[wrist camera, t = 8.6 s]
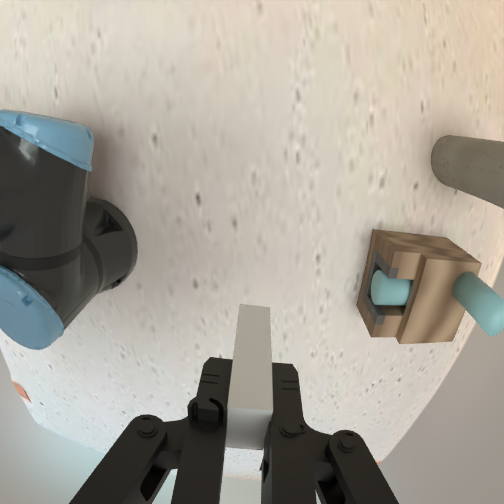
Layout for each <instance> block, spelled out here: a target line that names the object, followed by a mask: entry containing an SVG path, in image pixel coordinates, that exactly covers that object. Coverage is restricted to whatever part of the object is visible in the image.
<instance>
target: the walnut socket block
mask: <svg viewBox="0 0 504 504" xmlns="http://www.w3.org/2000/svg"><path fill="white" fill-rule="evenodd" d="M481 264H482V263H480V262H479V261H478V260H476V259H475V258H474V257H472V256H471V255H470V254H468V253H467V252H466V251H464V250H463V249H461V248H460V247H459V246H457V245H456V244H454V243H453V242H452V241H450V240H449V239H447V238H443V237H435V236H426V235H418V234H410V233H401V232H392V231H383V230H373V232H372V238H371V243H370V248H369V253H368V258H367V262H366V267H365V272H364V276H363V281H362V285H361V289H360V293H359V297H358V301H357V308H358V310H359V312H360V314H361V316H362V318H363V320H364V323H365V325H366V327H367V329H368V331H369V334H370V336H371V337H396V339H397V341H398V342H399V344H415V343H435V342H450V341H453V339H454V337H455V334H456V332H457V330H458V327H459V325H460V323H461V320H462V318H463V315H464V313H465V310H466V309H465V308H464V307H463V306H462V305H461V304H460V303H459V302H458V301H457V300H456V299H455V298H454V296H453V292H452V290H453V285H454V283H455V281H456V279H457V278H458V277H459V276H460V275H461V274H463V273H464V272H468V271H470V272H473V273H474V274H475V275H476V276H477V277H478V273H479V270H480V267H481ZM377 270H382V271H383V272H384V273H385V275H386V276H387V277H388V278H393V279H411V280H414V282H413V286H412V289H411V292H410V296H409V299H408V302H407V305H406V306H404V305H375V304H374V303H373V301H372V297H371V283H372V278H373V275H374V273H375V272H376V271H377Z"/></svg>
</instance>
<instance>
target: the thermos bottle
mask: <svg viewBox="0 0 504 504" xmlns="http://www.w3.org/2000/svg"><path fill="white" fill-rule="evenodd" d="M431 163H432V168H433V172H434V174H435V176H436V177H437V178H438V180H439V181H440V182H441V183H443V184H445V185H447V186H450V187H452V188H455V189H458V190H461V191H463V192H466V193H468V194H471V195H473V196H476V197H478V198H481V199H483V200H485V201H488V202H490V203H492V204H494V205H497V206H499V207H501V208H503V209H504V142H500V141H493V140H485V139H477V138H469V137H460V136H445V137H442V138H441V139H440V140H438V142H437V143H436V144H435V146H434V148H433V151H432V156H431Z"/></svg>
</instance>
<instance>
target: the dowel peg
mask: <svg viewBox="0 0 504 504" xmlns="http://www.w3.org/2000/svg"><path fill="white" fill-rule="evenodd" d="M413 282H414V280H411V279H393V278H388V277H387V276H386V275H385V273H384V272H383V271H382V270H377V271H376V272H375V273H374V275H373V278H372V283H371V297H372V301H373V303H374V304H375V305H404V306H406V305H407V302H408V299H409V296H410V292H411V289H412V286H413Z"/></svg>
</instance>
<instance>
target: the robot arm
mask: <svg viewBox="0 0 504 504" xmlns="http://www.w3.org/2000/svg"><path fill="white" fill-rule="evenodd" d="M93 147H94V136H93V133H92V131H91V130H90V129H89V128H88V127H87V126H85V125H82V124H79V123H75V122H71V121H67V120H63V119H58V118H54V117H49V116H44V115H39V114H33V113H27V112H21V111H12V110H1V111H0V328H1V330H2V331H3V332H4V333H5V334H6V335H8V336H9V337H10V338H11V339H13V340H14V341H15V342H17V343H18V344H20V345H22V346H24V347H26V348H29V349H34V350H41V349H44V348H47V347H48V346H50V345H51V344H52V343H53V342H54V341H55V340H56V339H57V338H58V337H60V336H62V335H63V333H64V330H65V329H66V328H67V327H68V325H69V324H70V323H71V322H72V321H73V320H74V319H75V317H76V316H77V315H78V314H79V313H80V312H81V311H82V309H83V308H84V307H85V306H86V305H87V304H88V303H89V302H90V301H91V299H92V298H93V297H94V296H95V295H96V294H98V293H101V292H104V291H107V290H110V289H113V288H115V287H117V286H118V285H120V284H121V283H122V282H123V281H124V280H125V279H126V278H127V277H128V276H129V274H130V273H131V272H132V270H133V268H134V266H135V263H136V259H137V242H136V237H135V234H134V231H133V229H132V226H131V225H130V223H129V221H128V220H127V218H126V217H125V216H124V214H123V213H122V212H121V211H120V210H119V209H118V208H116V207H115V206H114V205H112V204H111V203H109V202H107V201H104V200H101V199H95V198H90V199H87V194H88V187H89V179H90V173H91V172H92V166H91V162H92V154H93ZM187 407H188V416H187V417H186V418H184V419H181V420H177V421H169V422H163V421H162V420H161V419H160V418H158V417H156V416H153V415H149V414H148V415H140V416H138V417H135V418H134V419H133V420H132V421H131V422H130V423H129V425H128V426H127V427H126V429H125V430H124V431H123V433H122V434H121V435H120V437H119V438H118V439H117V441H116V442H115V443H114V445H113V446H112V447H111V449H110V450H109V451H108V453H107V454H106V455H105V457H104V458H103V459H102V461H101V462H100V463H99V464H98V466H97V467H96V468H95V470H94V471H93V473H92V474H91V475H90V476H89V478H88V479H87V480H86V482H85V483H84V484H83V486H82V487H81V488H80V490H79V491H78V492H77V494H76V495H75V496H74V498H73V499H72V500H71V502H70V503H69V504H152V502H153V501H154V499H155V497H156V495H157V494H158V492H159V490H160V489H161V487H162V485H163V483H164V481H165V480H166V478H167V476H168V475H169V473H170V471H171V469H178V471H177V476H176V480H175V485H174V490H173V495H172V500H171V504H219V502H220V492H221V483H222V473H223V464H224V453H225V447H229V448H240V449H253V450H263V447H264V456H263V460H262V463H261V467H260V470H262V486H261V488H262V489H261V504H317V503H316V492H317V494H318V497H319V499H320V502H321V504H399V503H398V501H397V500H396V498H395V496H394V494H393V492H392V490H391V489H390V487H389V485H388V483H387V481H386V480H385V478H384V476H383V474H382V472H381V471H380V469H379V467H378V465H377V463H376V462H375V460H374V458H373V456H372V454H371V453H370V451H369V449H368V447H367V445H366V444H365V442H364V440H363V439H362V437H361V436H360V435H359V434H357V433H355V432H354V431H350V430H340V431H338V432H336V433H334V434H333V435H329V434H325V433H321V432H318V431H315V430H314V429H312V428H310V427H309V426H308V425H307V424H306V422H305V420H304V417H303V411H302V402H301V394H300V386H299V378H298V372H297V370H296V369H295V367H294V366H293V364H286V363H272V354H271V326H270V307H263V306H253V305H243V304H240V306H239V314H238V322H237V331H236V339H235V347H234V355H233V360H231V359H222V358H214V357H210V358H209V359H208V360H207V361H206V362H205V363H204V365H203V369H202V374H201V378H200V382H199V387H198V391H197V396H196V397H195V398H194V399H192V400H191V401H190V402H189V404H188V406H187ZM315 489H316V492H315Z"/></svg>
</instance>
